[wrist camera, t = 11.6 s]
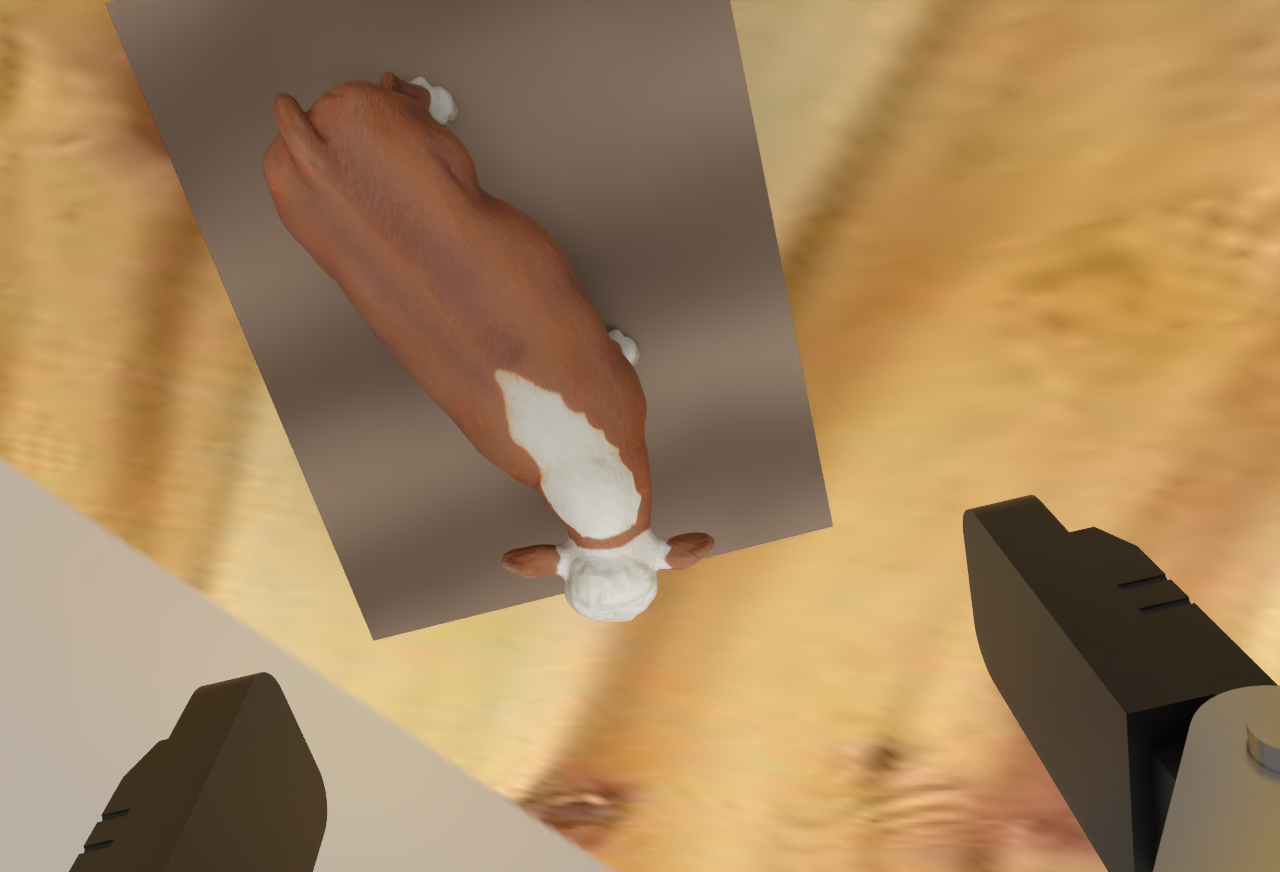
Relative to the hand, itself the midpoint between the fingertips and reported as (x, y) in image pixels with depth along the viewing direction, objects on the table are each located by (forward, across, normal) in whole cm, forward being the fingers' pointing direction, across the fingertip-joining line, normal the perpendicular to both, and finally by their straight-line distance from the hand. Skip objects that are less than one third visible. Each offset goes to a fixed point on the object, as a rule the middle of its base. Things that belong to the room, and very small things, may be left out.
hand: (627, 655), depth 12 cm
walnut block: (+22, +2, 0) cm, 23 cm away
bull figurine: (+17, +2, 0) cm, 17 cm away
